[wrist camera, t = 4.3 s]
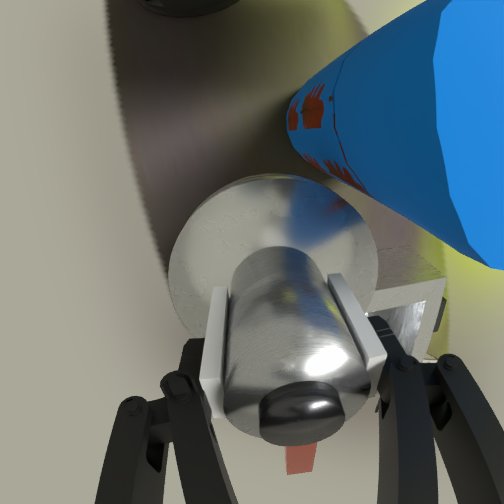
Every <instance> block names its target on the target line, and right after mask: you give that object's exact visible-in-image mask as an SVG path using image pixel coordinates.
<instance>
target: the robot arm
mask: <svg viewBox="0 0 504 504" xmlns="http://www.w3.org/2000/svg"><path fill="white" fill-rule="evenodd" d="M138 1H139V2H140V3H141V4H142V5H143V6H144V7H146V8H147V9H149V10H151V11H153V12H155V13H158V14H161V15H165V16H172V17H192V16H199V15H204V14H209V13H212V12H216V11H218V10H221V9H224V8H226V7H228V6H230V5H232V4H234V3H236V2H237V1H239V0H138ZM327 286H328V288H329V290H330V292H331V294H332V296H333V298H334V300H335V302H336V304H337V306H338V308H339V310H340V312H341V315H342V317H343V319H344V321H345V323H346V325H347V327H348V329H349V332H350V334H351V336H352V338H353V340H354V342H355V345H356V347H357V349H358V351H359V353H360V356H361V358H362V360H363V362H364V365H365V367H366V369H367V371H368V374H369V376H370V380H371V390H370V394H369V396H368V398H371V397H374V396H375V394H376V391H377V389H378V392H379V394H380V398H379V401H378V404H377V407H376V410H375V412H378V409H379V483H378V498H377V504H438V481H437V466H436V454H435V446H434V438H435V440H436V443H437V446H438V448H439V451H440V453H441V456H442V458H443V461H444V464H445V466H446V469H447V472H448V475H449V478H450V480H451V483H452V486H453V489H454V492H455V495H456V498H457V502H458V504H504V431H503V429H502V427H501V425H500V423H499V421H498V419H497V417H496V416H495V414H494V412H493V410H492V408H491V407H490V405H489V403H488V401H487V400H486V398H485V397H484V395H483V393H482V391H481V390H480V388H479V386H478V385H477V383H476V382H475V380H474V379H473V377H472V375H471V374H470V372H469V370H468V369H467V367H466V366H465V364H464V363H463V361H462V360H461V359H460V358H459V357H457V356H456V355H453V354H444V355H442V356H440V357H439V359H438V360H437V363H420V362H419V361H418V360H417V359H416V358H415V357H413V356H411V355H407V354H406V352H405V351H404V349H403V347H402V346H401V344H400V342H399V341H398V339H397V338H396V336H395V335H394V333H393V331H392V330H391V329H390V326H389V325H388V323H387V322H386V320H384V319H383V318H381V317H380V316H379V315H377V316H371V317H366V315H365V313H364V311H363V310H362V308H361V306H360V304H359V303H358V301H357V299H356V298H355V296H354V294H353V293H352V291H351V289H350V288H349V286H348V284H347V283H346V281H345V279H344V278H343V276H342V274H341V273H334V274H327ZM229 303H230V298H229V293H228V287H227V286H218V287H213V293H212V299H211V305H210V311H209V317H208V323H207V329H206V336H205V338H193V339H189V340H188V341H187V343H186V344H185V345H184V347H183V352H182V356H181V362H180V365H179V369H178V370H177V371H173V372H170V373H168V374H167V375H165V376H164V377H163V379H162V380H161V382H160V387H161V389H162V391H163V393H164V395H165V397H163V398H161V399H157V400H153V401H148V402H147V401H146V400H145V399H144V398H143V397H140V396H131V397H129V398H126V399H125V400H124V401H122V402H121V404H120V406H119V408H118V411H117V415H116V418H115V422H114V425H113V429H112V433H111V436H110V440H109V444H108V447H107V452H106V455H105V459H104V464H103V468H102V472H101V476H100V481H99V485H98V490H97V495H96V500H95V504H163V495H164V484H165V475H166V465H167V457H168V448H169V443H170V442H173V444H174V449H175V455H176V461H177V465H178V471H179V476H180V480H181V485H182V489H183V493H184V498H185V502H186V504H238V501H237V499H236V496H235V493H234V491H233V487H232V485H231V482H230V479H229V476H228V473H227V470H226V467H225V464H224V461H223V458H222V454H221V451H220V448H219V445H218V441H217V438H216V435H215V432H214V428H213V425H212V423H211V414H212V415H213V417H214V418H226V416H225V413H224V409H223V400H224V381H225V364H226V348H227V332H228V317H229ZM433 436H434V437H433Z"/></svg>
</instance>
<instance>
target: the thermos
mask: <svg viewBox="0 0 504 504" xmlns="http://www.w3.org/2000/svg"><path fill="white" fill-rule="evenodd" d="M286 123H287V133H288V136H289V138H290V141H291V143H292V146H293V147H294V148H295V150H296V151H297V152H298V153H299V154H300V156H301V157H302V158H303V159H304V160H305V161H307V162H308V163H309V164H311V165H313V166H314V167H316V168H318V169H319V170H321V171H323V172H324V173H326V174H328V175H330V176H332V177H334V178H336V179H338V180H340V181H341V182H343V183H345V184H347V185H349V186H351V187H353V188H355V189H357V190H359V191H360V192H362V193H364V194H366V195H368V196H370V197H371V198H373V199H375V200H377V201H379V202H380V203H382V204H384V205H386V206H387V207H389V208H391V209H392V210H394V211H396V212H398V213H399V214H401V215H403V216H404V217H406V218H408V219H409V220H411V221H412V222H414V223H416V224H417V225H419V226H420V227H422V228H424V229H425V230H427V231H428V232H430V233H431V234H433V235H434V236H436V237H437V238H439V239H440V240H442V241H443V242H445V243H446V244H448V245H450V246H451V247H452V248H454V249H455V250H457V251H458V252H459V253H461V254H463V255H465V256H468V257H470V258H472V259H474V260H476V261H478V262H480V263H482V264H484V265H486V266H488V267H490V268H493V269H499V270H504V0H426V1H425V2H423V3H421V4H419V5H417V6H416V7H414V8H412V9H411V10H409V11H407V12H405V13H404V14H402V15H400V16H399V17H397V18H396V19H394V20H392V21H391V22H389V23H388V24H386V25H384V26H383V27H381V28H380V29H378V30H377V31H375V32H374V33H372V34H371V35H369V36H368V37H366V38H365V39H364V40H362V41H360V42H359V43H358V44H356V45H355V46H353V47H352V48H350V49H349V50H348V51H346V52H345V53H343V54H342V55H341V56H339V57H338V58H337V59H335V60H334V61H333V62H331V63H330V64H329V65H327V66H326V67H325V68H323V69H322V70H321V71H319V72H318V73H317V74H316V75H314V76H313V77H312V78H311V79H309V80H308V81H307V82H306V83H305V85H304V86H303V87H302V88H301V89H300V90H299V91H298V92H297V93H296V95H295V96H294V97H293V98H292V100H291V103H290V105H289V108H288V111H287V114H286Z"/></svg>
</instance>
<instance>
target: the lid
mask: <svg viewBox="0 0 504 504" xmlns="http://www.w3.org/2000/svg"><path fill="white" fill-rule="evenodd" d="M334 273H341V274H342V276H343V278H344V279H345V281H346V283H347V284H348V286H349V288H350V289H351V291H352V293H353V294H354V296H355V298H356V299H357V301H358V303H359V304H360V306H361V308H362V310H363V311H364V313H365V312H366V310H367V308H368V306H369V304H370V302H371V300H372V297H373V294H374V291H375V288H376V283H377V277H378V256H377V250H376V246H375V242H374V239H373V237H372V234H371V232H370V230H369V228H368V226H367V224H366V223H365V221H364V220H363V218H362V217H361V216H360V214H359V213H358V212H357V211H356V210H355V209H354V208H353V207H352V206H351V205H350V204H349V203H348V202H347V201H345V200H344V199H343V198H342V197H340V196H339V195H338V194H336V193H335V192H333V191H332V190H330V189H329V188H327V187H325V186H324V185H322V184H320V183H318V182H316V181H313V180H311V179H308V178H305V177H301V176H297V175H292V174H283V173H265V174H259V175H253V176H249V177H245V178H242V179H239V180H236V181H234V182H232V183H230V184H228V185H225V186H223V187H222V188H220V189H219V190H217V191H216V192H214V193H213V194H211V195H210V196H209V197H208V198H207V199H205V200H204V201H203V202H202V203H201V204H200V205H199V206H198V207H197V209H196V210H195V211H194V212H193V213H192V215H191V216H190V218H189V219H188V221H187V222H186V224H185V226H184V227H183V229H182V231H181V232H180V234H179V236H178V238H177V240H176V243H175V245H174V247H173V250H172V254H171V258H170V262H169V271H168V281H169V290H170V295H171V299H172V302H173V305H174V308H175V310H176V312H177V314H178V316H179V318H180V319H181V321H182V322H183V324H184V325H185V327H186V328H187V329H188V330H189V331H190V332H191V334H192V335H193V336H194V337H195V338H205V336H206V329H207V323H208V317H209V311H210V305H211V299H212V293H213V287H218V286H227V287H228V293H229V298H230V303H229V317H228V332H227V348H226V364H225V381H224V400H223V409H224V413H225V416H226V418H227V419H228V420H229V422H230V423H231V424H232V425H234V426H235V427H236V428H237V429H239V430H240V431H242V432H244V433H246V434H249V435H252V436H255V437H259V438H263V439H264V440H265V441H267V442H269V443H272V444H275V445H279V446H285V461H286V470H287V475H290V474H298V473H305V472H311V471H312V468H313V463H314V457H315V452H316V446H317V442H318V441H321V440H323V439H326V438H327V437H329V436H331V435H333V434H334V433H335V432H337V431H338V430H339V429H340V428H341V427H342V425H343V424H344V422H345V421H347V420H348V419H350V418H351V417H352V416H354V415H355V414H356V413H357V412H358V411H359V410H360V409H361V407H362V406H363V405H364V404H365V402H366V400H367V399H368V396H369V394H370V390H371V380H370V376H369V374H368V371H367V369H366V367H365V365H364V362H363V360H362V358H361V356H360V353H359V351H358V349H357V347H356V345H355V342H354V340H353V338H352V336H351V334H350V332H349V329H348V327H347V325H346V323H345V321H344V319H343V317H342V315H341V312H340V310H339V308H338V306H337V304H336V302H335V300H334V298H333V296H332V294H331V292H330V290H329V288H328V286H327V274H334Z"/></svg>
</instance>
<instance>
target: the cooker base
mask: <svg viewBox="0 0 504 504" xmlns="http://www.w3.org/2000/svg"><path fill="white" fill-rule="evenodd" d="M377 256H378V277H377V283H376V288H375V291H374V294H373V297H372V300H371V302H370V304H369V306H368V308H367V310H366V312H365V315H366V317H371V316H377V315H379V316H380V317H381V318H383V319H384V320H386V322H387V323H388V325H389V326H390V329H391V330H392V331H393V333H394V335H395V336H396V338H397V339H398V341H399V342H400V344H401V346H402V347H403V349H404V351H405V352H406V354H407V355H411V356H413V357H415V358H416V359H417V360H418V361H419V362H420V363H422V362H423V360H424V357H425V354H426V351H427V348H428V345H429V342H430V339H431V336H432V333H433V332H436V331H438V329H439V326H440V322H441V319H442V315H443V312H444V308H445V304H446V301H447V300H446V299H445V298H444V297H443V292H444V288H445V284H446V279H447V277H446V276H445V275H444V274H443V273H442V272H440V271H439V270H438V269H437V268H436V267H434V266H433V265H432V264H431V263H430V262H428V261H427V260H426V259H425V258H424V257H422V256H421V255H420V254H419V253H417V252H416V251H415V250H414V249H412V248H411V247H410V246H406V247H398V248H390V249H382V250H377Z"/></svg>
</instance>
